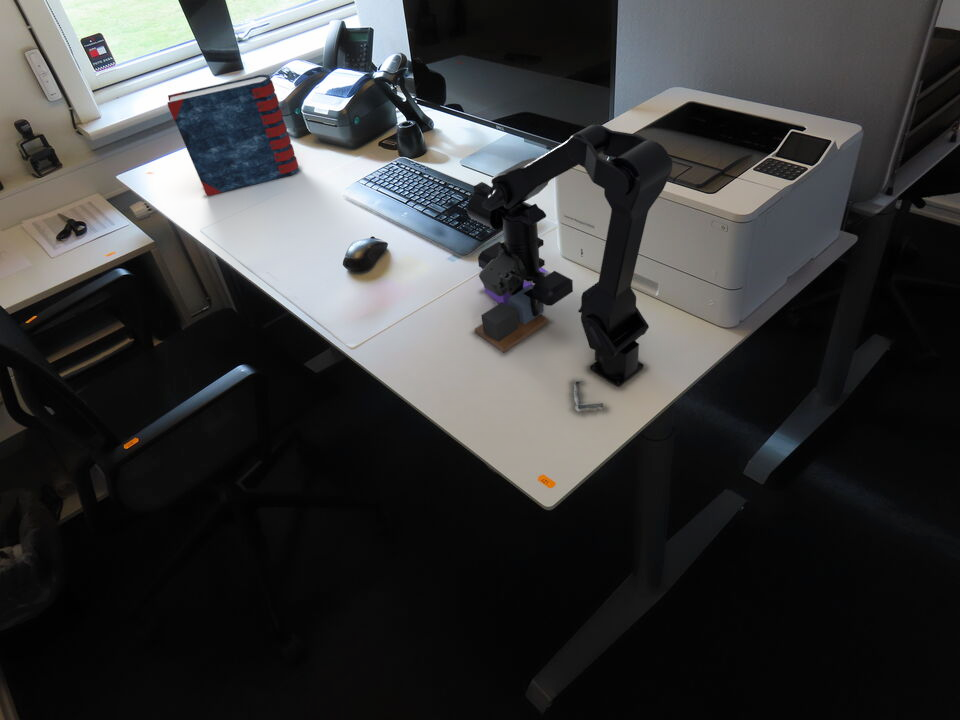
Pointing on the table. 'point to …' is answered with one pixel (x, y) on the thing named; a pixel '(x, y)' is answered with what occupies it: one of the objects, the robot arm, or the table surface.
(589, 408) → the bent metal strip
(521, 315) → the blue-grey block
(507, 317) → the dark grey cube
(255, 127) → the book
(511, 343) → the brown wooden board
